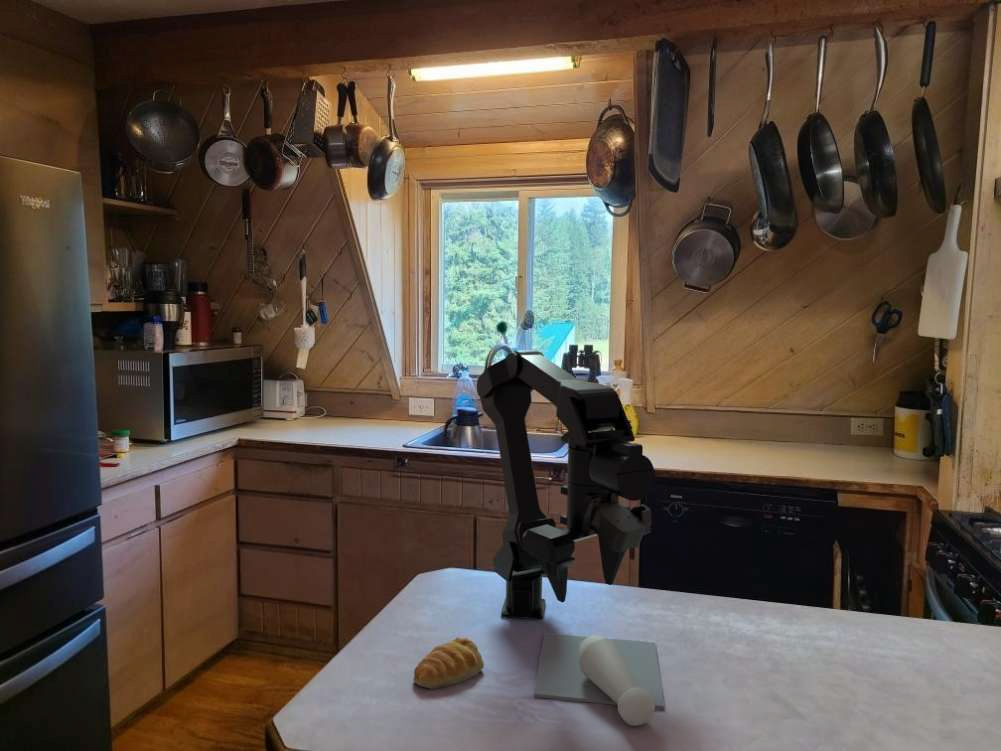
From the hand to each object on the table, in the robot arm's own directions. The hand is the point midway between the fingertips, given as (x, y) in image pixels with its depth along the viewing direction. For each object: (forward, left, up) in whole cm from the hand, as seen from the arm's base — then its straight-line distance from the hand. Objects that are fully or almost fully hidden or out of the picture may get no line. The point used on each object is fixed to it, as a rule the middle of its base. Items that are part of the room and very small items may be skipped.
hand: (585, 592), depth 97 cm
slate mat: (+2, +2, -10) cm, 10 cm away
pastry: (+6, -18, -10) cm, 21 cm away
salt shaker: (+3, +1, -6) cm, 7 cm away
